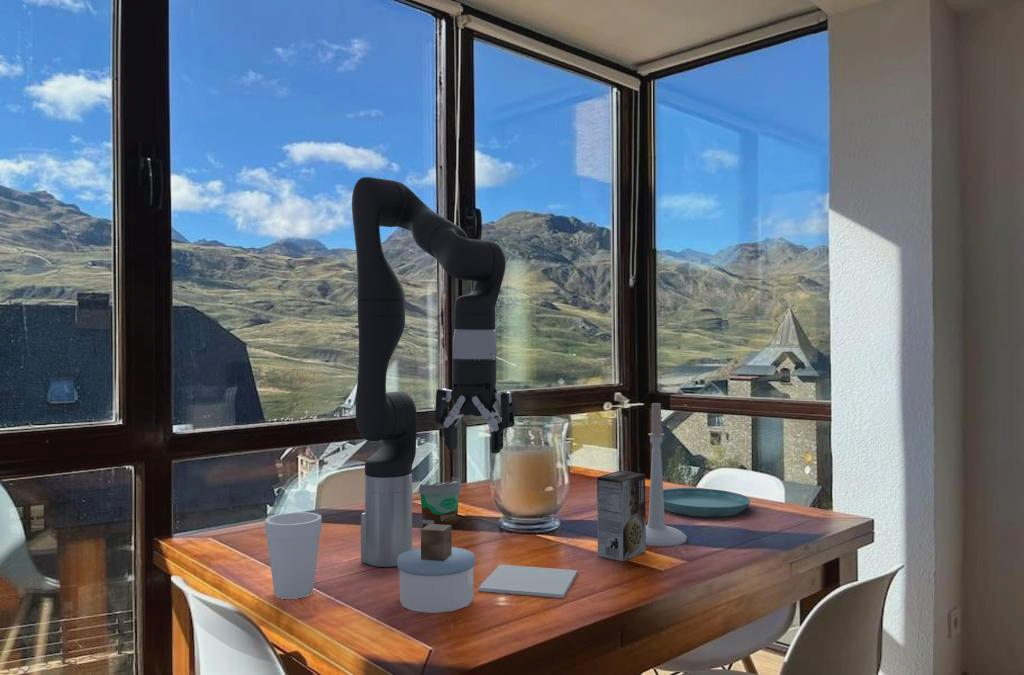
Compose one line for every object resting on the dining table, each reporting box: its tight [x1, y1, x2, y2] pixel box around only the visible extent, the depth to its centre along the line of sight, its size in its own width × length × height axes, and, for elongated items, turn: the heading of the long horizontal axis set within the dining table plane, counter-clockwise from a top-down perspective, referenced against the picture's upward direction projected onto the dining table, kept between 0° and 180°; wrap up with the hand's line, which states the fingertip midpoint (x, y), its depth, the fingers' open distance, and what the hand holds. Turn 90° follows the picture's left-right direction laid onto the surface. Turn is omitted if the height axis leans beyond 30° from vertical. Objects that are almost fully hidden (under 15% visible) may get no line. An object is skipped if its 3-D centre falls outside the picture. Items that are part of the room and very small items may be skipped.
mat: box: [478, 564, 578, 599], centre depth 139 cm, size 15×14×1 cm
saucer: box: [663, 487, 751, 518], centre depth 199 cm, size 24×24×3 cm
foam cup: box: [264, 511, 322, 600], centre depth 133 cm, size 10×9×13 cm
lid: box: [396, 524, 476, 576], centre depth 130 cm, size 13×13×6 cm
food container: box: [417, 476, 463, 528], centre depth 182 cm, size 12×6×10 cm, turn 143°
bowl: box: [399, 567, 475, 614], centre depth 130 cm, size 12×12×6 cm
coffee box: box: [596, 470, 647, 562], centre depth 157 cm, size 9×6×16 cm
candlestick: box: [646, 401, 688, 547], centre depth 169 cm, size 13×13×30 cm
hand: (473, 450), depth 133 cm, fingers open, 8 cm apart
